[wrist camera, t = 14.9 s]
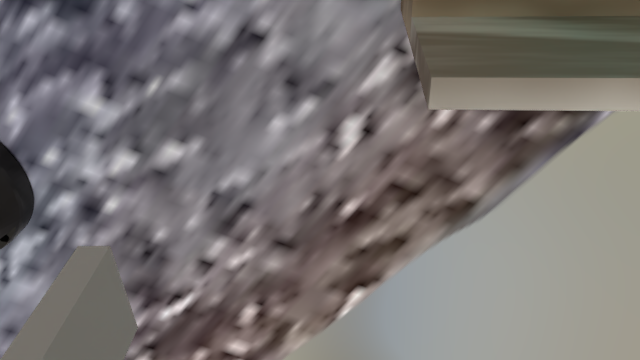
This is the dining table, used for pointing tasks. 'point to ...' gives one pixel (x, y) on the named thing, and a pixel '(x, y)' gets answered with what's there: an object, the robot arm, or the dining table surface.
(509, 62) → the display stand
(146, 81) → the dining table surface
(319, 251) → the dining table surface
